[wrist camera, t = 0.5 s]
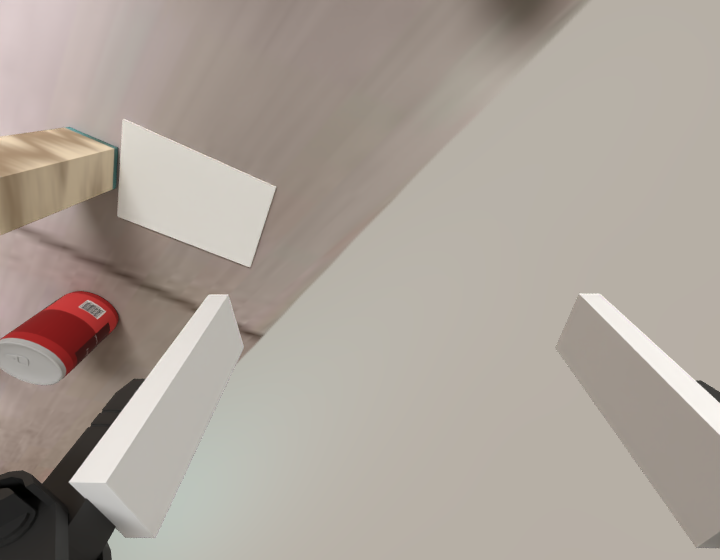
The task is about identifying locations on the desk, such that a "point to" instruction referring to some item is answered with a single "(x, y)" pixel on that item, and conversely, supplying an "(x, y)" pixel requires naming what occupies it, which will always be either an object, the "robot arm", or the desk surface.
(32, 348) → the canned food
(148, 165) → the mat
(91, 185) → the block
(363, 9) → the desk surface
